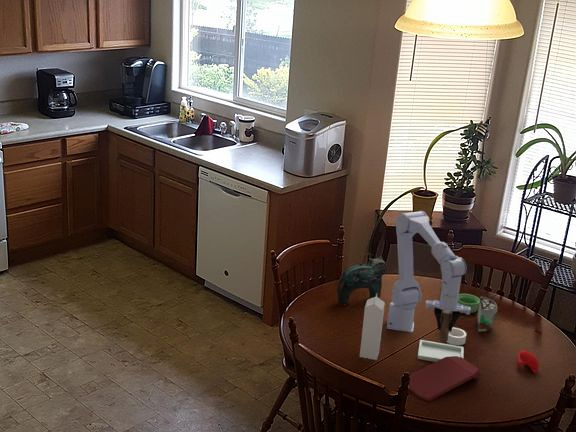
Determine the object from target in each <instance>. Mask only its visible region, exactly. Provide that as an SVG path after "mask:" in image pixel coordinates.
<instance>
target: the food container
mask: <svg viewBox="0 0 576 432" xmlns="http://www.w3.org/2000/svg"><path fill="white" fill-rule="evenodd" d="M479 299H480V300H479V305H478V309H477V314H476V323H477V332H481V333H482V332H484V333H485V332H489V331H490V330H492V326H493V322H494V319H495V314H497V312H498V305H497V303H496V301H495V300H493V299H491V298H488V297H486V296H483V295H482V296H479Z"/></svg>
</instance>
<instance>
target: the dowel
mask: <svg viewBox="0 0 576 432" xmlns="http://www.w3.org/2000/svg"><path fill="white" fill-rule="evenodd" d="M451 317H452V311H451V312H445V311H444V310H442V313H441V320H440V330H438V337H437V338H438V339H437V340H438V341H440V342H441V343H442V342H444V343H445V342H446V341H448V335H449V328H450V322H451ZM446 343H447V342H446Z"/></svg>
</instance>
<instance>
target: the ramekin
mask: <svg viewBox="0 0 576 432" xmlns="http://www.w3.org/2000/svg"><path fill="white" fill-rule="evenodd" d="M479 300H480V297H478V296H476V295H472V294H469V293H459V295H458V302H457V304H460V305H463V306H466V307H470V314H473V313H476V312H478V308H479Z"/></svg>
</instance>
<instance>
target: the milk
mask: <svg viewBox="0 0 576 432" xmlns="http://www.w3.org/2000/svg"><path fill="white" fill-rule="evenodd" d="M385 306H386V302H385V301H383V300H382V299H381V298H380V299H379V298H378V297H377V294H376V297H374V298H371V299H370V298H368V299H367V300H366V303H365V306H364V314H363V322H362V331H361V339H360V341H361V342H360V351H359V358H362V357H363V359H367V358H368V360H373V361H378V358H379V353H380V347H381V341H382V340H381V339H382V331H383V322H384V314H385Z"/></svg>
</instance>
